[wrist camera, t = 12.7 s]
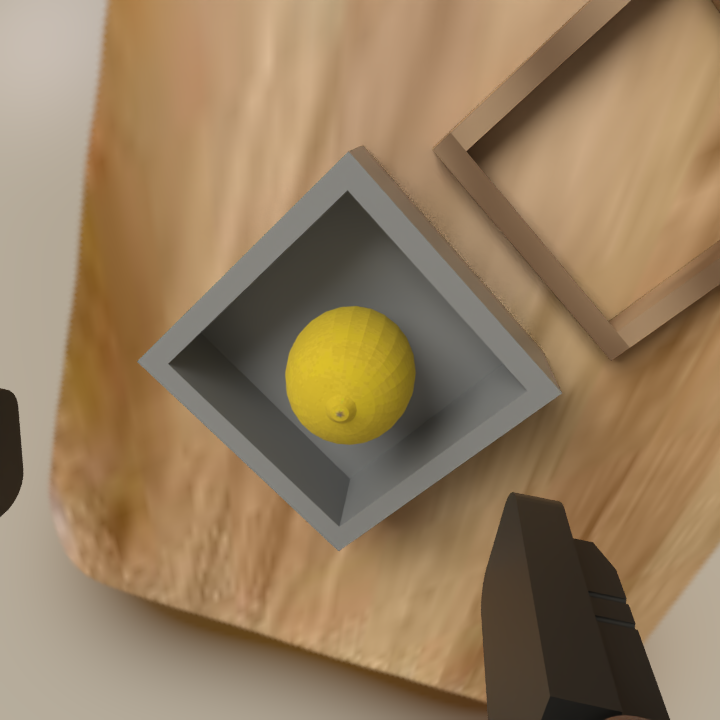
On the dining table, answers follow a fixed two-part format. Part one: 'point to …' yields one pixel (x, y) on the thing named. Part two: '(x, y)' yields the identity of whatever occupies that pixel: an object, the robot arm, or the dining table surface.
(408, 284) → the bin
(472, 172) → the holder
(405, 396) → the lemon
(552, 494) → the dining table surface
